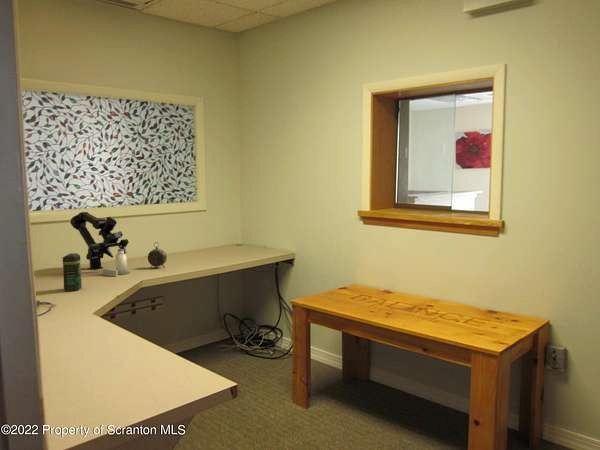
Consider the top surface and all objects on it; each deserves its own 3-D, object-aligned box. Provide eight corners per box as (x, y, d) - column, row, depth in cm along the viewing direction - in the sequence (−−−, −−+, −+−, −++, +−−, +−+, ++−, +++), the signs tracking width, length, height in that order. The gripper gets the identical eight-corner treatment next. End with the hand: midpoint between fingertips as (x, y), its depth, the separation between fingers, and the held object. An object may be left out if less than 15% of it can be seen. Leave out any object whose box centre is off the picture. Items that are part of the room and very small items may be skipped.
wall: (102, 274, 300) (102, 269, 300) (104, 274, 301) (103, 268, 301) (116, 276, 295) (115, 270, 295) (117, 276, 296) (117, 270, 296)
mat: (110, 274, 302) (110, 273, 302) (122, 271, 310) (122, 270, 310) (121, 275, 298) (121, 274, 298) (133, 272, 306) (133, 272, 306)
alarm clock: (167, 267, 323) (166, 241, 321) (164, 268, 317) (163, 242, 315) (150, 267, 324) (149, 241, 322) (147, 268, 318) (145, 242, 317)
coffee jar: (79, 291, 260) (76, 255, 258) (62, 292, 259) (60, 255, 257) (83, 287, 269) (81, 252, 267) (67, 287, 268) (65, 252, 266)
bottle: (114, 273, 301) (113, 250, 300) (118, 271, 307) (117, 248, 306) (125, 273, 301) (123, 250, 300) (128, 271, 307) (127, 248, 306)
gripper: (98, 228, 298) (111, 249, 293) (126, 225, 313) (138, 245, 308) (91, 241, 303) (103, 261, 298) (119, 237, 318) (130, 257, 313)
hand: (119, 256), depth 304 cm, fingers open, 9 cm apart
